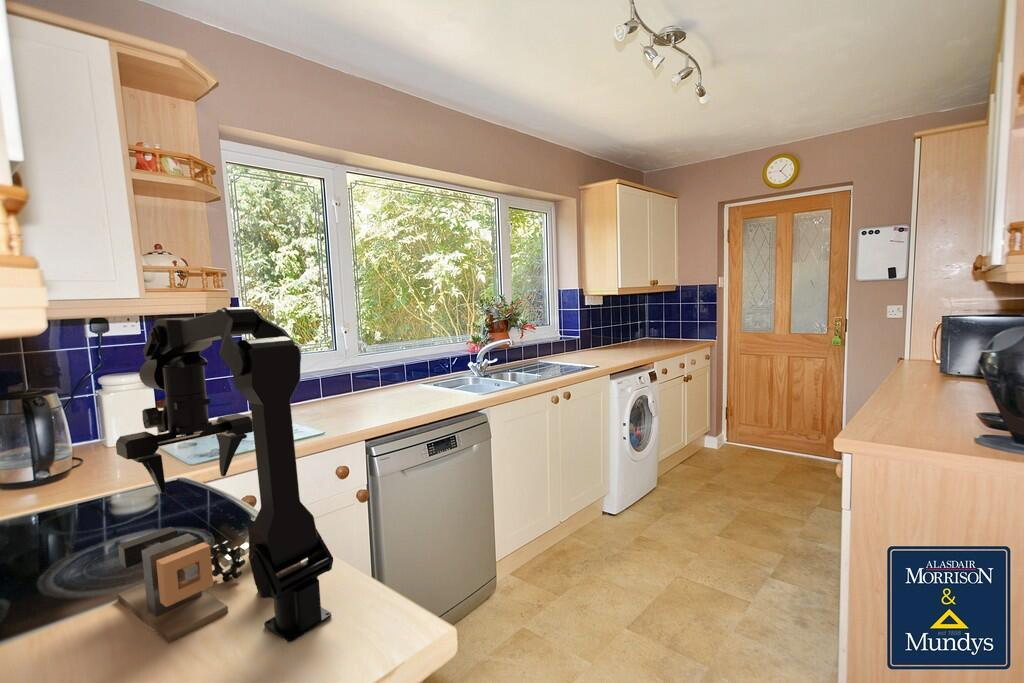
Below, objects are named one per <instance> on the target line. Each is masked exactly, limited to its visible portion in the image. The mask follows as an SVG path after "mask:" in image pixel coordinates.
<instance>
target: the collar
mask: <svg viewBox="0 0 1024 683" xmlns="http://www.w3.org/2000/svg"><path fill="white" fill-rule="evenodd" d="M210 548H211V545H210V544H208V543H206V542H204V541H203V542H200V543H198V545H195V546H192V547H190V548H187V549H185V550H182V551H180V552H177V553H175V554H172V555H169V556H167V557H164V558H162V559H159V560H157V561H156V564H157V574H158V585H159V595H160V603H162V604H163V605H164V606H166V607H168V606H170V605H172V604H174V603H176V602H178V601H181V600H183V599H185V598H187V597H189V596H191V595H194V594H196V593H198V592H200V591H202V590H204V591H205V590H206V589H209V588H211V587H212V586H214V576H213V575H212V571H213V564H212V563H211V556H212V553H211V551H210ZM194 563H195V564H196V565H198V577H195V578H193V579H191V580H189V581H182V582H179V583H178V578H177V570H179V569H182V568H184V567H186V566H189V565H191V564H194Z"/></svg>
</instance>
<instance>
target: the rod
mask: <svg viewBox="0 0 1024 683" xmlns="http://www.w3.org/2000/svg"><path fill="white" fill-rule="evenodd" d="M177 537H179V535H178V529H176V528H174V527H172V526H168V527H166V528H163V529H160V530H157V531H154V532H151V533H148V534H145V535H143V536H139V537H137V538H134V539H131V540H129V541H125V542H122V543H119V544H117V550H118V557H119V565H121V566H122V567H123V568H124V569H128V568H130V567H133V566H136V565H139V564H141V563H143V560H142V550H144V549H147V548H150V547H152V546H155V545H158V544H160V543H163V542H166V541H169V540H171V539H174V538H177ZM177 576H178V577H180V578H181V579H183V580H184V581H189V580H191V579H193V578H195V577H198V565H196V564H195V563H194V564H191V565H189V566H186V567H184V568H182V569H179V570H177Z"/></svg>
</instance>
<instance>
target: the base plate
mask: <svg viewBox="0 0 1024 683" xmlns="http://www.w3.org/2000/svg"><path fill="white" fill-rule="evenodd" d="M117 600H118V601H119V602H120V603H121V604H122V605H123V606H124V607H125V608H127V609H128V610H129V609H130V610H129V611H130V612H132V613H133V614H134V615H135V616H136V615H137V616H138V617H137V616H136V617H137V618H139V619H140V620H141V621H142V622H143V623H144V624H146V626H148V628H150V629H151V630H153V631H154V632H155V633H156V634H157V635H158V636H160V637H161V638H162V639H163V640H164V641H165V642H166V643H168V644H170V643H172V642H174V641H175V640H177V639H180V638H182V637H183V636H186V635H187V634H189V633H191V632H193V631H195V630H197V629H198V628H200V627H202V626H204V625H206V624H209V623H211V622H212V621H214V620H216V619H218V618H219V617H222V616H224V615H226V614H228V613H229V609H228V607H229V606H228V605H227V604H225V602H222V601H221V600H219V599H218V598H217V597H215V596H213V595H212V594H210V593H209V592H207V591H206V590H205V589H204V590H202V596H201V597H198V598H196V599H194V600H192V601H190V602H188V603H186V604H184V605H181V606H179V607H177V608H175V609H173V610H171V611H169V612H167V613H164V614H162V615H160V616H158V617H155V616H154V615H153V614H151V613H150V612H149V611H148V610H147V600H146V590H145V582H143V583H140V584H138V585H136V586H133V587H131V588H128V589H126V590H123V591H120V592H119V593H117Z"/></svg>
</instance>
